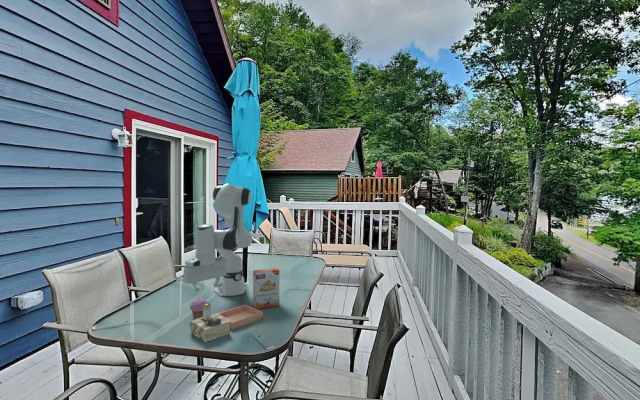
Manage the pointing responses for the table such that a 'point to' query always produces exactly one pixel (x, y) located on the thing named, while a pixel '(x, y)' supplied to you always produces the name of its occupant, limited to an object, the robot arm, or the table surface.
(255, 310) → the tray
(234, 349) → the table surface
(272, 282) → the cracker box
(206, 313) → the pin
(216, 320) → the block
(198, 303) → the cupcake
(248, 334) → the table surface
